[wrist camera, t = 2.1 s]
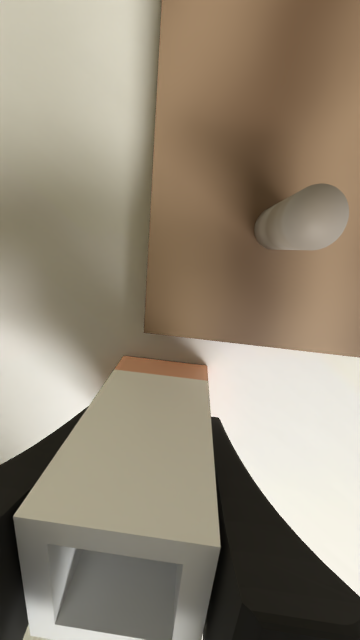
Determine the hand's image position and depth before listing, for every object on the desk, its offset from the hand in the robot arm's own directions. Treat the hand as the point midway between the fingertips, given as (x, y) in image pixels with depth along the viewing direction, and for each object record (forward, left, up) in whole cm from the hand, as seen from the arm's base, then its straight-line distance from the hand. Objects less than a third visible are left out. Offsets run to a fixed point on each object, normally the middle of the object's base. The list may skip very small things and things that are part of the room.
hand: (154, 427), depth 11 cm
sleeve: (0, 0, -2) cm, 2 cm away
